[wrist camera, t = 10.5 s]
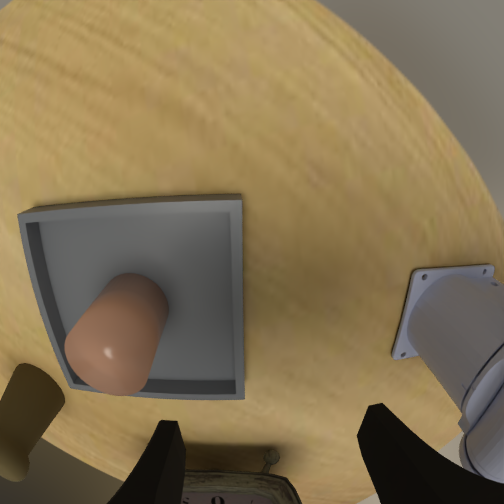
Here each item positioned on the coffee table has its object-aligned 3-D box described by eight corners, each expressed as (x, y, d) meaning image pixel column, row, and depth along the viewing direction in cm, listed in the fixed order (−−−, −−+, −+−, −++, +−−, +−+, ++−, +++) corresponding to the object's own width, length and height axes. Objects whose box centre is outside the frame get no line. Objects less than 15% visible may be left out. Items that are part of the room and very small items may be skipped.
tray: (240, 193, 17) (242, 200, 15) (243, 381, 22) (244, 399, 20) (34, 207, 16) (17, 214, 14) (78, 372, 21) (70, 388, 19)
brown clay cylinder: (165, 274, 18) (139, 328, 12) (172, 336, 20) (154, 400, 14) (98, 271, 18) (54, 320, 12) (109, 332, 19) (78, 389, 14)
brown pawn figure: (6, 361, 21) (-46, 436, 10) (47, 364, 21) (-7, 455, 10) (33, 405, 23) (-5, 479, 12) (75, 411, 23) (40, 498, 13)
